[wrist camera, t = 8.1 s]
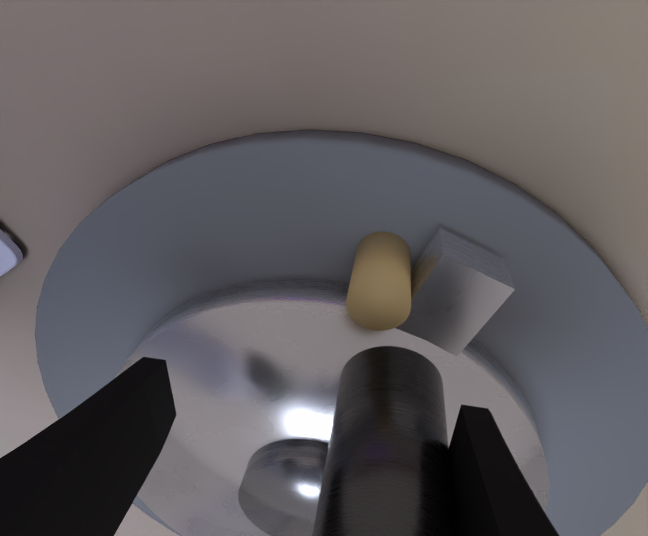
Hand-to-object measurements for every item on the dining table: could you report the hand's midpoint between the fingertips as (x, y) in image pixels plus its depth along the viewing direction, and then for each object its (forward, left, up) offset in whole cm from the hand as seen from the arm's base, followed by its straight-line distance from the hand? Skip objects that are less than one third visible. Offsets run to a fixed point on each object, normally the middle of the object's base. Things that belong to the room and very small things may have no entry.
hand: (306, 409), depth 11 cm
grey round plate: (+5, -4, -6) cm, 8 cm away
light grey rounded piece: (+5, -3, -4) cm, 6 cm away
